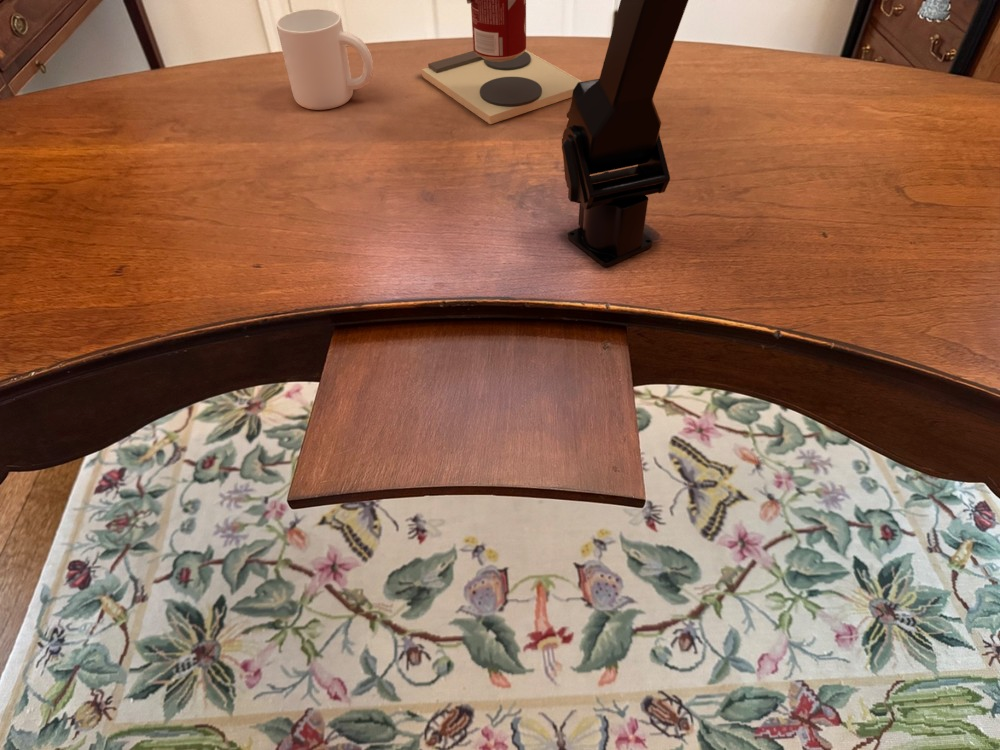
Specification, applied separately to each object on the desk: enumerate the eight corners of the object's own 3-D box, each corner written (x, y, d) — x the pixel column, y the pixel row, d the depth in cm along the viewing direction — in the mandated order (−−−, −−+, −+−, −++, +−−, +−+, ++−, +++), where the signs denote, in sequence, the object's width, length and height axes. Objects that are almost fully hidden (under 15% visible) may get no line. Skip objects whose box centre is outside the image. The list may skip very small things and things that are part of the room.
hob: (587, 92, 98) (588, 79, 97) (490, 125, 92) (490, 112, 91) (513, 50, 109) (513, 38, 108) (422, 77, 103) (421, 64, 102)
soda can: (498, 69, 88) (495, -39, 80) (462, 54, 92) (456, -50, 83) (537, 53, 92) (537, -52, 83) (501, 40, 95) (498, -63, 87)
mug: (387, 88, 101) (377, 11, 93) (368, 115, 95) (354, 35, 88) (308, 83, 103) (291, 6, 95) (284, 109, 97) (265, 30, 90)
